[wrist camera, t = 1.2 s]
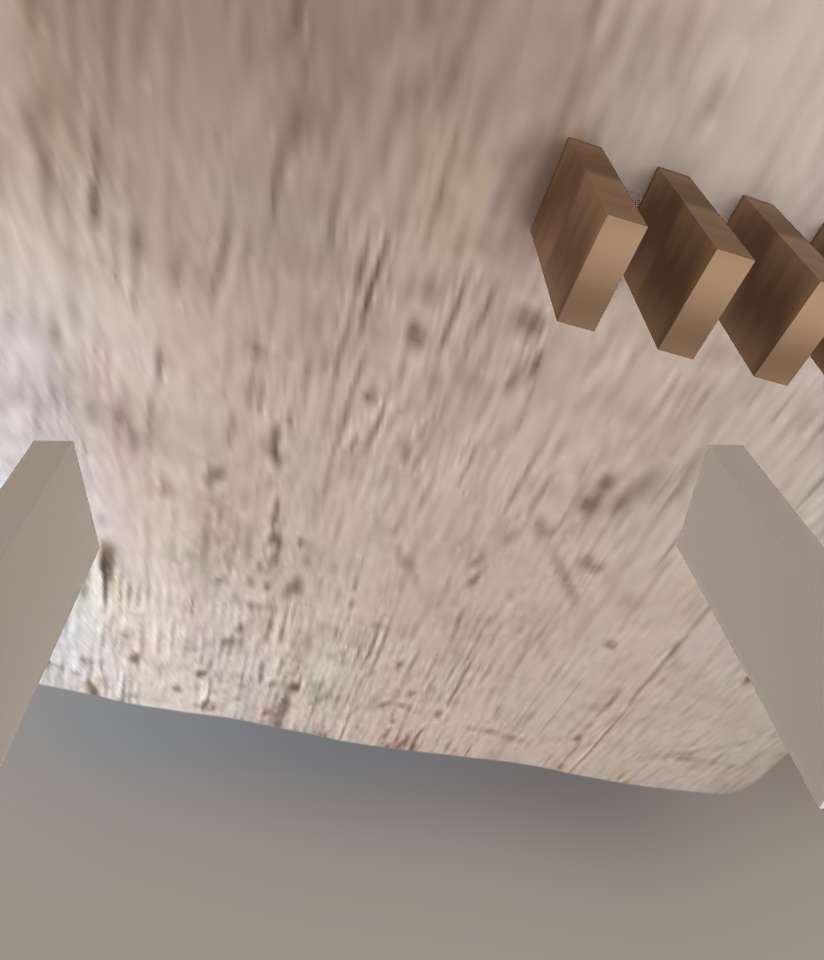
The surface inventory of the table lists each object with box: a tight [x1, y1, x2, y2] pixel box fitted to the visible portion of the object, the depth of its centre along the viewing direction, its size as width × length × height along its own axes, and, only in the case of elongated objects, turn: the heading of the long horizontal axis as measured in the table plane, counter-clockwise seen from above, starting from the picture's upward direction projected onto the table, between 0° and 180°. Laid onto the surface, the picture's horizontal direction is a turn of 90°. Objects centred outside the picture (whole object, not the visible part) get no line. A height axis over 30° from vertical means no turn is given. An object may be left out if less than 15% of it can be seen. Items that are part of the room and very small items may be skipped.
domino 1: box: [531, 137, 648, 331], centre depth 36 cm, size 5×2×10 cm, turn 163°
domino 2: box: [624, 167, 755, 359], centre depth 37 cm, size 5×2×10 cm, turn 163°
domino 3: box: [719, 195, 824, 386], centre depth 38 cm, size 5×2×10 cm, turn 163°
